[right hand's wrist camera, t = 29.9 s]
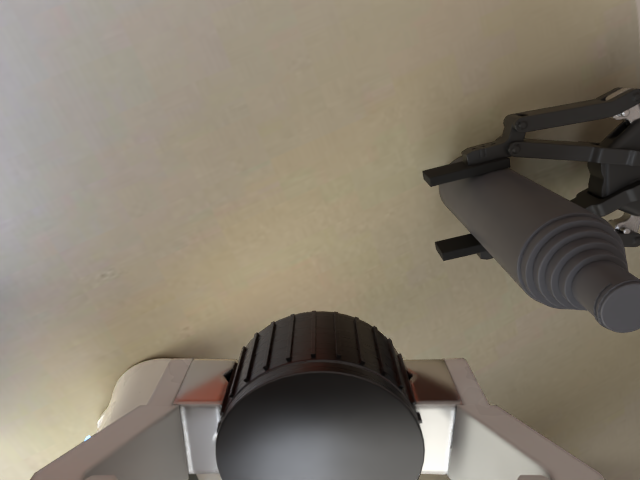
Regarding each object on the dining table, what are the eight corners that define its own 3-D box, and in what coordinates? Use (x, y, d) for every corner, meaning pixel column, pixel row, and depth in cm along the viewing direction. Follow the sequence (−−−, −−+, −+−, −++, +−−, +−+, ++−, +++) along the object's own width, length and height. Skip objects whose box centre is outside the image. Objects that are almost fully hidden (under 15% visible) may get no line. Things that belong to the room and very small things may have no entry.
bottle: (486, 141, 43) (677, 226, 20) (510, 195, 45) (710, 327, 22) (428, 174, 44) (546, 289, 21) (454, 224, 46) (589, 380, 23)
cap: (242, 294, 9) (222, 353, 7) (426, 322, 10) (454, 386, 8) (223, 439, 11) (202, 522, 9) (385, 461, 11) (400, 545, 9)
